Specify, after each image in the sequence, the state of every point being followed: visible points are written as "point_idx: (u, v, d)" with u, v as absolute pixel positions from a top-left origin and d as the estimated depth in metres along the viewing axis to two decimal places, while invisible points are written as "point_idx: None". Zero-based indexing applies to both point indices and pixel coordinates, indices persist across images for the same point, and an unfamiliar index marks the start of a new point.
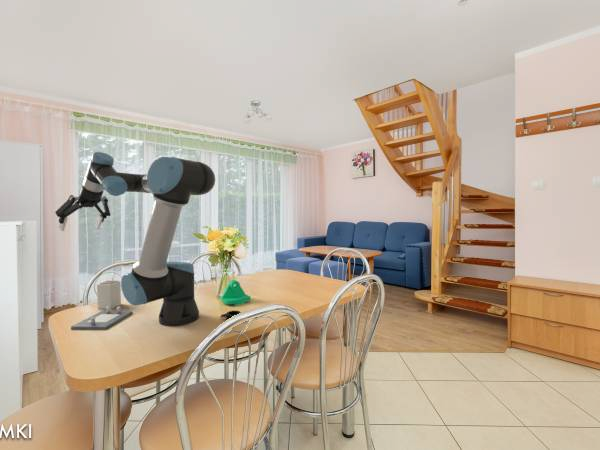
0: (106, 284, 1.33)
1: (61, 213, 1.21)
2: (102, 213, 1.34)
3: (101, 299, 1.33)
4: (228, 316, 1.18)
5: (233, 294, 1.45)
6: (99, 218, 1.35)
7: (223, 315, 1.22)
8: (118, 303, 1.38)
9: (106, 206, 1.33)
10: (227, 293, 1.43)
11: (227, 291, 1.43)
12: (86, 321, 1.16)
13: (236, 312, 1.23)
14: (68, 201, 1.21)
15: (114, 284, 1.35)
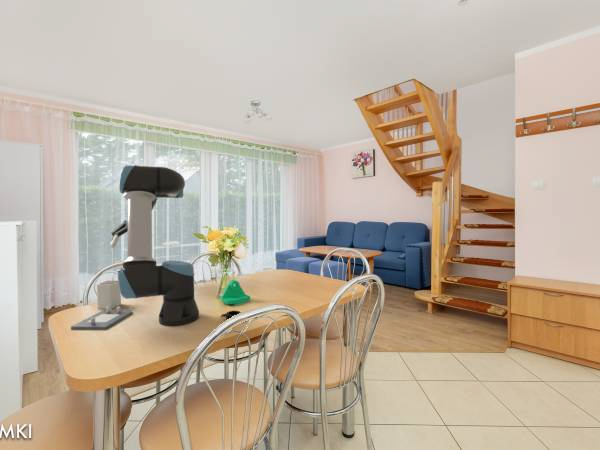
0: (106, 284, 1.33)
1: (114, 231, 1.54)
2: None
3: (101, 299, 1.33)
4: (228, 316, 1.19)
5: (233, 294, 1.45)
6: None
7: (223, 315, 1.22)
8: (118, 303, 1.38)
9: None
10: (227, 293, 1.43)
11: (227, 291, 1.43)
12: (86, 321, 1.16)
13: (236, 312, 1.23)
14: None
15: (114, 284, 1.35)
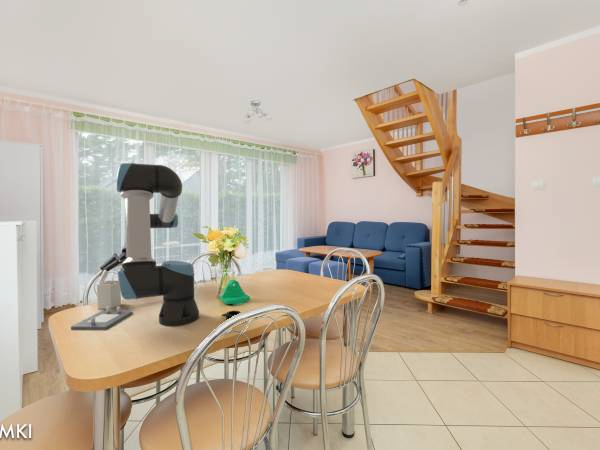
0: (106, 284, 1.33)
1: (103, 265, 1.46)
2: None
3: (101, 299, 1.33)
4: (227, 316, 1.19)
5: (232, 294, 1.45)
6: None
7: (224, 314, 1.23)
8: (118, 303, 1.38)
9: None
10: (227, 293, 1.43)
11: (226, 291, 1.43)
12: (86, 321, 1.16)
13: (237, 312, 1.23)
14: None
15: (114, 284, 1.35)
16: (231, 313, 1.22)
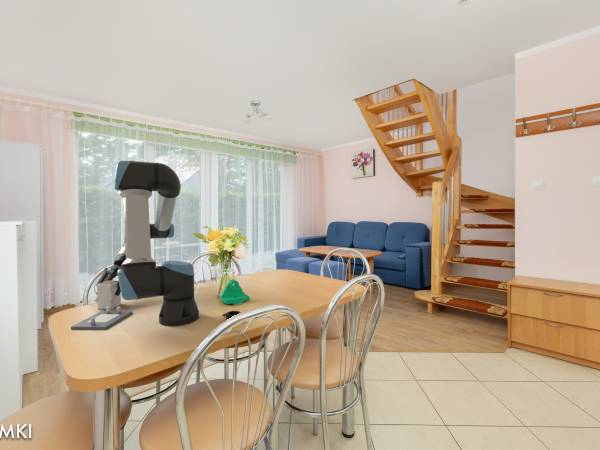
0: (106, 284, 1.33)
1: (98, 282, 1.38)
2: None
3: (101, 299, 1.33)
4: (227, 316, 1.19)
5: (232, 293, 1.45)
6: None
7: (225, 314, 1.23)
8: (118, 303, 1.38)
9: None
10: (226, 293, 1.44)
11: (226, 290, 1.44)
12: (86, 321, 1.16)
13: (237, 312, 1.22)
14: None
15: (114, 284, 1.35)
16: (232, 313, 1.23)
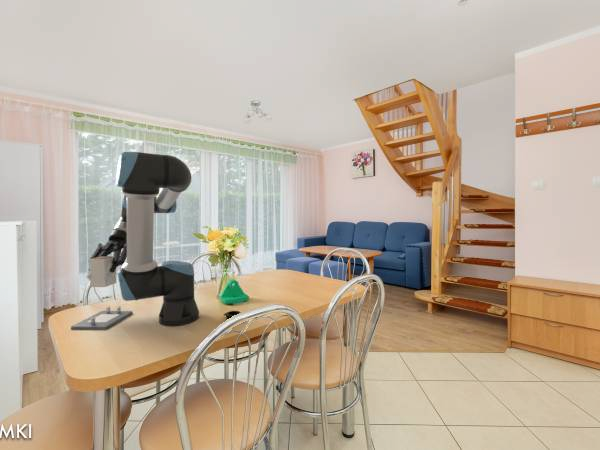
0: (99, 259, 1.19)
1: (91, 258, 1.24)
2: (115, 258, 1.23)
3: (94, 275, 1.18)
4: (226, 315, 1.19)
5: (232, 293, 1.46)
6: None
7: (226, 314, 1.23)
8: (113, 281, 1.24)
9: (123, 250, 1.26)
10: (226, 293, 1.44)
11: (226, 290, 1.44)
12: (86, 321, 1.16)
13: (237, 313, 1.22)
14: None
15: (109, 259, 1.21)
16: (232, 313, 1.23)
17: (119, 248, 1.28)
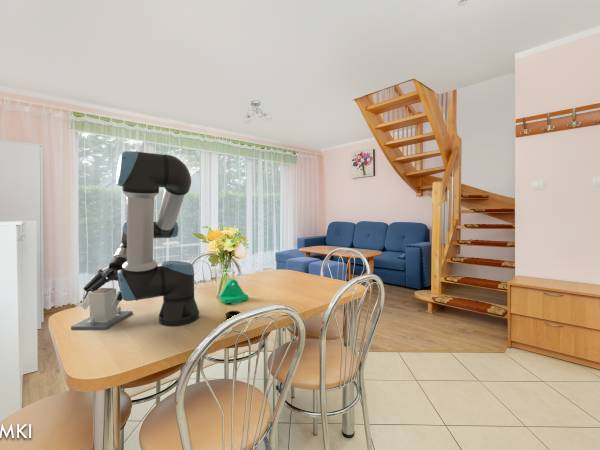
0: (100, 292, 1.15)
1: (87, 285, 1.21)
2: None
3: (93, 309, 1.15)
4: (226, 315, 1.20)
5: (231, 293, 1.46)
6: None
7: None
8: (113, 314, 1.21)
9: None
10: (226, 292, 1.45)
11: (225, 290, 1.45)
12: (86, 321, 1.16)
13: (238, 313, 1.22)
14: None
15: (109, 292, 1.18)
16: (233, 313, 1.23)
17: None
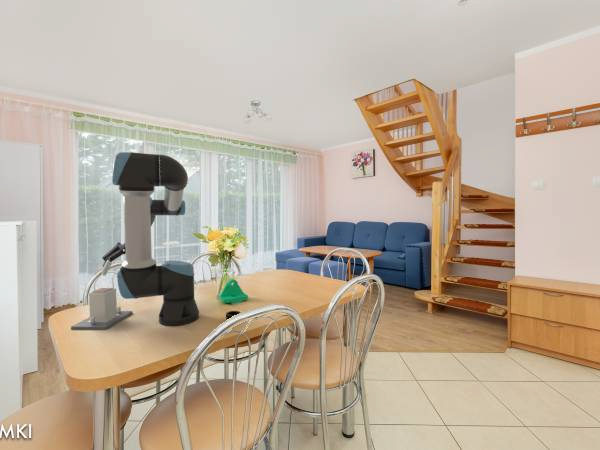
0: (100, 292, 1.15)
1: (105, 255, 1.34)
2: None
3: (93, 309, 1.15)
4: (226, 315, 1.20)
5: (231, 293, 1.47)
6: None
7: None
8: (113, 314, 1.21)
9: None
10: (225, 292, 1.45)
11: (225, 290, 1.45)
12: (86, 321, 1.16)
13: (238, 313, 1.22)
14: None
15: (109, 292, 1.18)
16: (234, 313, 1.23)
17: None
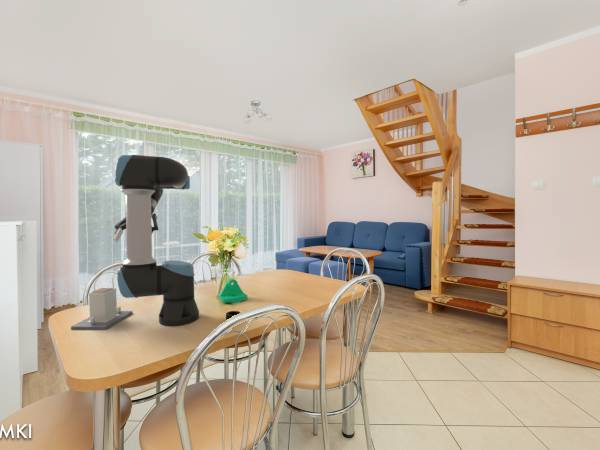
0: (100, 292, 1.15)
1: (117, 224, 1.43)
2: None
3: (93, 309, 1.15)
4: None
5: (231, 292, 1.47)
6: None
7: None
8: (113, 314, 1.21)
9: (153, 218, 1.46)
10: (225, 292, 1.46)
11: (225, 289, 1.46)
12: (86, 321, 1.16)
13: (238, 313, 1.21)
14: None
15: (109, 292, 1.18)
16: (234, 313, 1.23)
17: None
